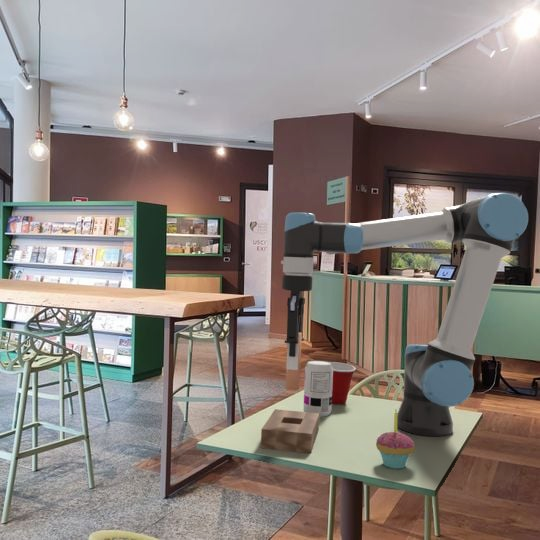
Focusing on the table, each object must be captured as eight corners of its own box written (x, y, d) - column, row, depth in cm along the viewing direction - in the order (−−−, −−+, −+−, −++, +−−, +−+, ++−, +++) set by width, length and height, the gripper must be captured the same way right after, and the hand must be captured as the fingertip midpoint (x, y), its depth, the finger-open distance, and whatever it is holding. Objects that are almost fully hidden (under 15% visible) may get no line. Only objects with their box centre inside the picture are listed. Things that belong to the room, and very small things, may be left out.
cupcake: (373, 456, 126) (375, 405, 125) (411, 459, 125) (413, 407, 124) (377, 470, 117) (379, 415, 117) (417, 473, 116) (419, 418, 116)
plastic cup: (341, 408, 166) (342, 369, 166) (313, 401, 174) (315, 364, 174) (361, 403, 174) (362, 365, 174) (334, 396, 182) (335, 360, 181)
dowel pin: (300, 387, 137) (302, 332, 137) (298, 390, 134) (300, 334, 134) (286, 386, 138) (288, 331, 138) (284, 389, 135) (286, 333, 134)
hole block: (318, 430, 144) (319, 413, 144) (311, 453, 126) (311, 433, 126) (274, 425, 146) (274, 409, 146) (260, 447, 129) (261, 428, 128)
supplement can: (297, 413, 160) (299, 362, 159) (314, 408, 166) (316, 359, 166) (320, 419, 154) (322, 366, 154) (336, 413, 161) (338, 363, 160)
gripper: (287, 273, 144) (283, 361, 145) (277, 274, 128) (272, 372, 129) (315, 274, 143) (311, 363, 143) (308, 275, 127) (304, 375, 127)
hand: (293, 367), depth 136 cm, fingers closed on dowel pin, 3 cm apart
